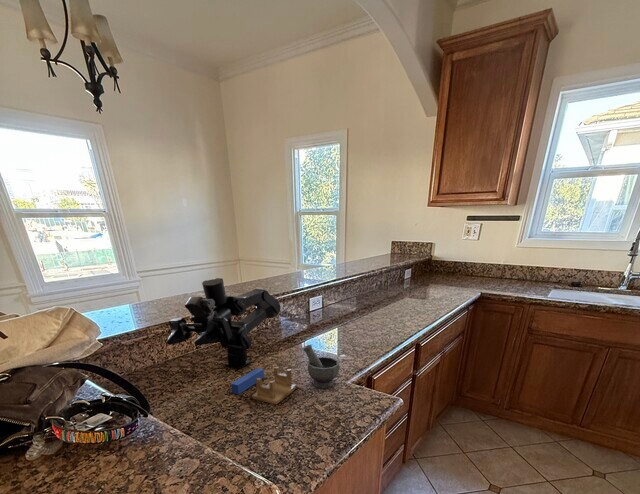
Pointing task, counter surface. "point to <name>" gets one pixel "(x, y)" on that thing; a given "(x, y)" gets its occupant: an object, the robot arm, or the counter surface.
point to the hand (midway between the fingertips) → (181, 343)
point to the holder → (275, 387)
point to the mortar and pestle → (321, 368)
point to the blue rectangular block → (247, 381)
